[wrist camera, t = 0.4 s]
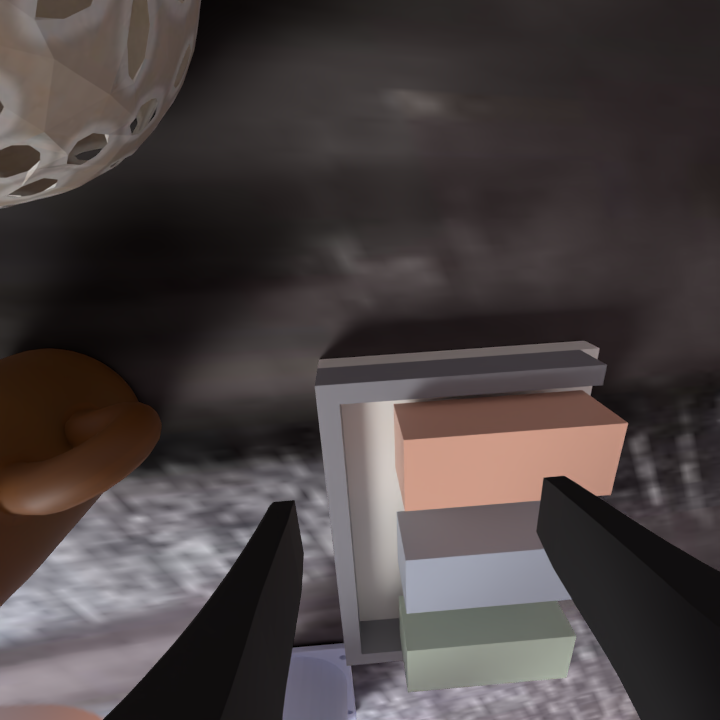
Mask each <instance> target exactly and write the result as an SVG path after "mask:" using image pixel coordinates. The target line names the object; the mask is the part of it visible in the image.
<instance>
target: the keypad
mask: <svg viewBox="0 0 720 720" xmlns="http://www.w3.org/2000/svg"><path fill="white" fill-rule="evenodd" d="M599 349H600V348H598V347H596V346H594V345H592V344H590V343H588V342H586V341H572V342H558V343H544V344H530V345H516V346H502V347H488V348H474V349H460V350H446V351H431V352H417V353H403V354H389V355H375V356H361V357H347V358H333V359H319V363H318V369H317V375H316V382H315V392H316V401H317V410H318V418H319V427H320V436H321V445H322V453H323V462H324V471H325V480H326V489H327V497H328V506H329V515H330V524H331V532H332V541H333V550H334V559H335V568H336V576H337V585H338V594H339V603H340V612H341V620H342V629H343V638H344V647H345V655H346V664H347V666H350V665H361V664H372V663H383V662H394V661H403V654H402V647H401V640H400V621H399V596H404V595H403V589H402V583H401V577H400V571H399V565H398V548H397V512H399V511H405V510H404V505H403V501H402V496H401V491H400V487H399V482H398V477H397V473H396V468H395V438H394V404H400V403H414V402H427V401H441V400H454V399H468V398H481V397H495V396H508V395H522V394H535V393H549V392H562V391H576V390H583V391H584V392H586V393H587V394H588V395H590V396H591V390H592V386H598V385H603V382H604V377H605V372H606V367H607V365H606V364H605V363H603V362H601V361H599V360H597V359H598V354H599Z"/></svg>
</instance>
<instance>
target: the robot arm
mask: <svg viewBox="0 0 720 720" xmlns="http://www.w3.org/2000/svg"><path fill="white" fill-rule="evenodd" d="M536 532H537V535H538V537H539V539H540V541H541V543H542V546H543V548H544V550H545V552H546V554H547V556H548V558H549V561H550V563H551V565H552V567H553V569H554V570H555V572H556V574H557V575H558V577H559V579H560V580H561V582H562V584H563V585H564V587H565V589H566V590H567V592H568V594H569V595H570V597H571V598H572V600H573V602H574V603H575V605H576V607H577V608H578V610H579V611H580V613H581V615H582V616H583V618H584V620H585V621H586V623H587V624H588V626H589V628H590V629H591V631H592V633H593V634H594V636H595V637H596V639H597V641H598V642H599V644H600V646H601V647H602V649H603V650H604V652H605V654H606V655H607V657H608V659H609V661H610V662H611V664H612V666H613V668H614V669H615V671H616V673H617V675H618V676H619V678H620V680H621V682H622V684H623V686H624V688H625V690H626V692H627V694H628V696H629V698H630V700H631V701H632V703H633V705H634V707H635V709H636V711H637V713H638V715H639V717H640V719H641V720H720V572H719V571H717V570H715V569H714V568H712V567H710V566H708V565H706V564H705V563H703V562H701V561H699V560H698V559H696V558H694V557H693V556H691V555H689V554H687V553H686V552H684V551H682V550H681V549H679V548H677V547H676V546H674V545H672V544H670V543H669V542H667V541H665V540H664V539H662V538H661V537H659V536H657V535H656V534H654V533H652V532H651V531H649V530H648V529H646V528H645V527H643V526H641V525H640V524H638V523H637V522H635V521H634V520H632V519H630V518H629V517H627V516H626V515H624V514H623V513H621V512H620V511H618V510H617V509H615V508H614V507H612V506H611V505H609V504H608V503H606V502H604V501H603V500H601V499H600V498H598V497H597V496H595V495H594V494H592V493H591V492H589V491H588V490H586V489H585V488H583V487H582V486H580V485H579V484H577V483H575V482H574V481H572V480H571V479H569V478H567V477H566V476H556V477H545V478H543V485H542V492H541V500H540V507H539V514H538V522H537V529H536ZM303 556H304V552H303V547H302V541H301V535H300V529H299V524H298V518H297V512H296V506H295V501H294V500H292V501H281V502H273V503H272V504H271V505H270V506H269V508H268V510H267V512H266V513H265V515H264V517H263V519H262V520H261V522H260V524H259V526H258V527H257V529H256V531H255V532H254V534H253V535H252V537H251V539H250V540H249V542H248V543H247V545H246V547H245V548H244V550H243V551H242V553H241V554H240V556H239V557H238V559H237V560H236V562H235V563H234V565H233V566H232V568H231V569H230V571H229V572H228V574H227V575H226V577H225V578H224V579H223V581H222V582H221V583H220V585H219V586H218V588H217V589H216V590H215V592H214V593H213V594H212V596H211V597H210V599H209V600H208V601H207V603H206V604H205V605H204V607H203V608H202V609H201V611H200V612H199V613H198V614H197V616H196V617H195V618H194V620H193V621H192V622H191V623H190V625H189V626H188V627H187V628H186V629H185V631H184V632H183V633H182V634H181V635H180V637H179V638H178V639H177V640H176V641H175V643H174V644H173V645H172V646H171V647H170V649H169V650H168V651H167V652H166V653H165V654H164V655H163V656H162V658H161V659H160V660H159V661H158V662H157V663H156V664H155V665H154V667H153V668H152V669H151V670H150V671H149V672H148V673H147V674H146V676H145V677H144V678H143V679H142V680H141V681H140V682H139V683H138V684H137V685H136V686H135V687H134V689H133V690H132V691H131V692H130V693H129V694H128V695H127V696H126V697H125V698H124V699H123V700H122V701H121V702H120V703H119V704H118V705H117V706H116V707H115V708H114V709H113V710H112V711H111V712H110V713H109V714H108V715H107V716H106V717H105V718H104V719H103V720H356V706H355V697H354V687H353V678H352V669H351V665H350V666H347V664H346V655H345V647H344V643H339V644H328V645H317V646H305V647H294V648H293V642H294V636H295V630H296V623H297V617H298V611H299V604H300V598H301V591H302V575H303Z"/></svg>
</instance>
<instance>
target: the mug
mask: <svg viewBox="0 0 720 720" xmlns="http://www.w3.org/2000/svg"><path fill="white" fill-rule="evenodd" d="M161 425H162V424H161V421H160V418H159V415H158V413H157V412H156V411H155V410H154V409H153V408H152V407H151V406H148V405H146V404H143V403H140V402H138V399H137V397H136V396H135V394H134V392H133V390H132V389H131V388H130V386H129V385H128V384H127V383H126V382H125V381H124V380H123V378H122V377H121V376H119V375H118V374H117V373H116V372H115V371H114V370H112V369H111V368H109V367H108V366H106V365H105V364H103V363H102V362H100V361H98V360H96V359H94V358H91V357H89V356H87V355H84V354H81V353H77V352H74V351H69V350H64V349H54V348H46V349H36V350H30V351H24V352H21V353H18V354H15V355H12V356H9V357H6V358H3V359H1V360H0V607H1V606H2V604H3V603H4V602H5V601H6V600H7V599H8V598H9V597H10V596H11V595H12V594H13V593H14V592H15V591H16V590H17V589H18V588H20V587H21V586H22V585H23V584H24V583H25V582H26V581H27V580H28V579H29V578H30V576H31V575H32V574H33V573H34V572H35V571H36V570H37V569H38V568H39V567H40V565H41V564H42V563H43V562H44V561H45V560H46V559H47V557H48V556H49V555H50V554H51V553H52V552H53V550H54V549H55V548H56V547H57V546H58V545H59V543H60V542H61V541H62V540H63V539H64V538H65V537H66V535H67V534H68V533H69V532H70V531H71V530H72V528H73V527H74V526H75V525H76V524H77V523H78V521H79V520H80V519H81V518H82V517H83V516H84V515H85V513H86V512H87V511H88V510H89V509H90V508H91V506H92V505H93V504H94V503H95V502H96V500H97V499H98V498H99V497H100V496H101V494H102V493H103V492H105V491H107V490H108V489H110V488H111V487H112V486H114V485H115V484H117V483H118V482H120V481H121V480H123V479H124V478H125V477H127V476H128V475H129V474H130V473H131V472H132V471H134V470H135V469H136V468H137V467H138V466H139V465H140V464H141V463H142V462H143V461H144V460H145V459H146V458H147V457H148V455H149V454H150V453H151V451H152V450H153V448H154V446H155V445H156V443H157V442H158V440H159V438H160V434H161Z"/></svg>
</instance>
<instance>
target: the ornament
mask: <svg viewBox="0 0 720 720" xmlns="http://www.w3.org/2000/svg"><path fill="white" fill-rule="evenodd" d="M200 4H201V0H0V208H7V207H10V206H14V205H17V204H21V203H25V202H30V201H34V200H38V199H42V198H46V197H50V196H54V195H58V194H62V193H64V192H67V191H70V190H72V189H75V188H77V187H80V186H82V185H83V184H85V183H87V182H89V181H91V180H92V179H94V178H96V177H98V176H99V175H101V174H103V173H105V172H107V171H108V170H110V169H112V168H114V167H116V166H117V165H118V164H119V163H120V162H121V161H122V160H123V159H125V158H126V157H128V156H131V155H132V154H133V153H134V152H135V151H136V150H137V149H138V148H139V147H140V145H141V144H142V143H143V142H144V141H145V140H146V139H147V138H148V136H149V135H150V134H151V133H152V132H153V131H154V130H155V129H156V127H157V125H158V124H159V122H160V121H161V119H162V118H163V116H164V115H165V114H166V112H167V111H168V109H169V108H170V106H171V105H172V104H173V102H174V100H175V98H176V96H177V94H178V93H179V91H180V89H181V87H182V85H183V83H184V80H185V77H186V74H187V71H188V68H189V64H190V61H191V58H192V55H193V52H194V49H195V42H196V36H197V29H198V21H199V12H200ZM156 108H157V109H156ZM155 110H156V114H155V116H154V117H153V118H152V120H151V121H150V119H151V117H152V115H153V113H154V111H155ZM135 118H137V123H138V124H137V126H136V128H135V129H134V131H133V133H132V134H131V129H130V124H131V123H132V122H133V121H134V120H135ZM149 121H150V122H149ZM148 123H149V124H148ZM101 148H103V149H102V150H101V151H100V152H99V153H98V154H97V155H96V156H95V157H94V158H92V159H90V160H88V161H87V160H78V159H77V158H76V157H75V156H76V155H78V154H80V153H82V152H86V151H91V150H95V149H101ZM8 196H16V197H8Z"/></svg>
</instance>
